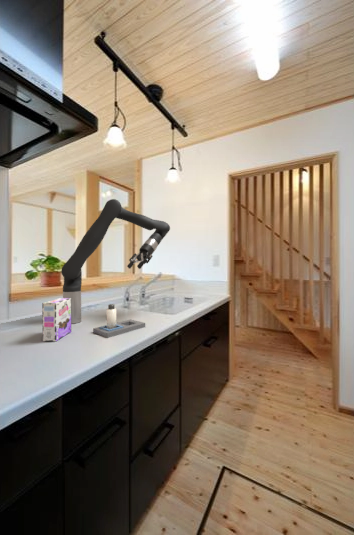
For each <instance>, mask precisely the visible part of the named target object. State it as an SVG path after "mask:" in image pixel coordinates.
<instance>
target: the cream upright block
mask: <svg viewBox="0 0 354 535" xmlns="http://www.w3.org/2000/svg"><path fill="white" fill-rule="evenodd" d="M107 306H108V307H107V308H106V325H107V329H113V328H116V323H117V308H116V307H115V304H114V303H109V304H108V305H107Z"/></svg>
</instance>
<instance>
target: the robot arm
mask: <svg viewBox="0 0 354 535" xmlns="http://www.w3.org/2000/svg"><path fill="white" fill-rule="evenodd" d="M115 219H118V220H122V221H125V222H129V223H131V224H132V225H136V226H138V227H140V228H143V229H145V230H148V231H152V230H155V231H153V233H152V234H150V236H149V237H148V238H147V239H146V241H144V242H143V244H142V245H141V247H139V252H138V253H134V254H133V255H132V256H131V257H130V258H129V259H128V261H129V263H128V264H127V265H126V267H127V268H128V269H132V267H133V266H134V265H135V264H136V263H138V264H137V268H138V270H140V269H142V267H144V265H145V264H148V263H150V260H152V258H153V254H154V252H155V251H156V250H157V248H158V246H159V245H160V244H161V242H162V240H163V239H164V238H165V237H166V236H167V234H168V233H169V232H170V230H171V227H170V224H169V223H167V222H166V221H163V220H158V219H152V218H151V217H148V216H146V215H143V214H141V213H136V212H132V211H131V210H127V209H126V208H124V207H122V203H121V202H120V200H117V199H115V198H111V199H109V200H107V201H106V203H105V205H104V206H103V208H102V210H101V212H100V214H99V216H98V217H97V218H96V220H94V222H93V223H92V224H91V226H90V227H89V228H88V230H87V231H86V233H85V234H84V235H83V237H82V239H81V240H80V242H79V243H78V244H77V245H78V246H77V247H76V249H75V251H74V252H73V254H72V255H71V256H70V258H68V260H67V261H65V263H64V264H63V266H62V267H61V271H60V272H61V275H62V276H63V285H62V298H71V325H72V324H78V323H81V322H82V282H83V281H82V272H83V271H82V268H83V266H84V265H85V263H86V261H87V260H88V258H90V256H91V255H92V254H93V253H94V252H95V251H96V250H97V249H98V247H99V246H100V244H101V243H102V242H103V239H104V238H105V237H106V234H107V232H108V230H109V228H110V225H111V224H112V223H113V221H114V220H115Z"/></svg>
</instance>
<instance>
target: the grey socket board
mask: <svg viewBox="0 0 354 535" xmlns="http://www.w3.org/2000/svg"><path fill="white" fill-rule="evenodd" d="M142 328H146V322H143V321H138V320H135V319H125V320H122V321H116V328H113V329H107V324H106V325H101V326H97V327H94V328H93V329H92V332H93V333H94V334H96V335H99V336H101V337H104V338H107V339H108V338H111V337H115V336H119V335H122V334H126V333H129V332H132V331H137V330H139V329H142Z"/></svg>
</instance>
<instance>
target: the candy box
mask: <svg viewBox="0 0 354 535" xmlns="http://www.w3.org/2000/svg"><path fill="white" fill-rule="evenodd" d="M41 305H42V311H41V312H42V314H41V316H42V323H41V324H42V342H57V341H59V340H60V339H62V338H64V337H65V336H67V335H68V334H71V333H72V324H71V298H63V297H58V298H56V299H52V300H49V301H46V302H42V304H41Z"/></svg>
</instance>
